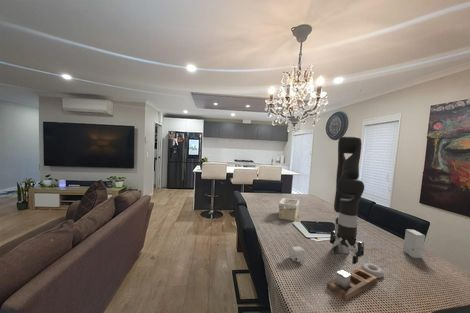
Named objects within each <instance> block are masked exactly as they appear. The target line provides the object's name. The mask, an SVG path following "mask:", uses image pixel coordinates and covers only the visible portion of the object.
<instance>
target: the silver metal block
mask: <svg viewBox="0 0 470 313" xmlns="http://www.w3.org/2000/svg"><path fill="white" fill-rule="evenodd" d="M336 278H337V279H336ZM336 278H335V279H336V285H337V286H338V287H340V288H341V289H343V290H344V291H346V290H348V289H350V278H351V274H349V273H348V272H347V271H345V270H343V269H340V270H338V271H336Z"/></svg>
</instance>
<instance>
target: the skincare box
mask: <svg viewBox="0 0 470 313" xmlns="http://www.w3.org/2000/svg"><path fill="white" fill-rule="evenodd" d="M404 233H405V235H404V241H403V247H402V252H404V253H405V254H407V255H409V256H410V257H411V258H415V259H416V258H417V259H422V258H423V253H424V247H425V241H426V235H425V234H423V233H421V232H419V231H418V230H415V229H409V228H407V229H405V232H404Z"/></svg>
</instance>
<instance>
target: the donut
mask: <svg viewBox="0 0 470 313" xmlns="http://www.w3.org/2000/svg"><path fill="white" fill-rule="evenodd" d="M360 269H362V270H364V271H366V272H368V273H370V274H372V275H374V276H376V277H377V279H382V278H383V277H384V276H385V273H384V270H383V269H382V268H381V267H380V266H378V265H376V264H374V263H370V262H369V263H367V262H365V263H362V264H361V267H360Z"/></svg>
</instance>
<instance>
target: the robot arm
mask: <svg viewBox="0 0 470 313" xmlns="http://www.w3.org/2000/svg"><path fill="white" fill-rule="evenodd" d="M361 152H362V139H361V137H358V136H340V137H339V138H338V141H337V169H336V178H335V180H336V181H335V185H336V186H335V195H334V203H333V209H334V212H336V213H338V217H336V218H335V224H334V230H331V232H330V237H329V243H330V244H331V248H332V249H333V251H332V252H333V254H334V255H335V256H336V255H339V254H342V255H347V254H350V252H351V253H352V259H351V260H352V262H351V263H352V265H356V264H357V263H358V262H359V258H360V257H363V256H365V254H364V252H365V243H364V241H360V240H357V234H358V232H357V231H358V223H359V222H358V219H359V218H358V214H359V212H358V210H359V203H360V201H361V198H362V196H363V193H364V191H365V184H364V182H363V181H362V180H361V179H359V177H360V169H359V168H360V166H359V165H360V161H361V159H360V158H361ZM345 154H348V155H349V154H351V155H350V156H349V157H347V158H346V157H345ZM343 195H346V196H347V195H349V196H353V197H352V198H342V197H343Z"/></svg>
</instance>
